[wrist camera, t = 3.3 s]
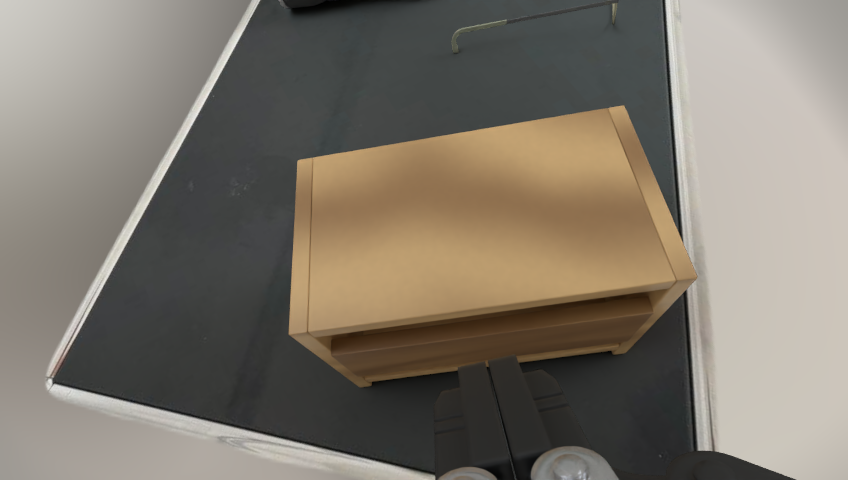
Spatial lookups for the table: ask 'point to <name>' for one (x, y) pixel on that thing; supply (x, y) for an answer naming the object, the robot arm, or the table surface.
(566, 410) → the robot arm
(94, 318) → the table surface
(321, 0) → the flashlight
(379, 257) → the wooden drawer chest
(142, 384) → the table surface
